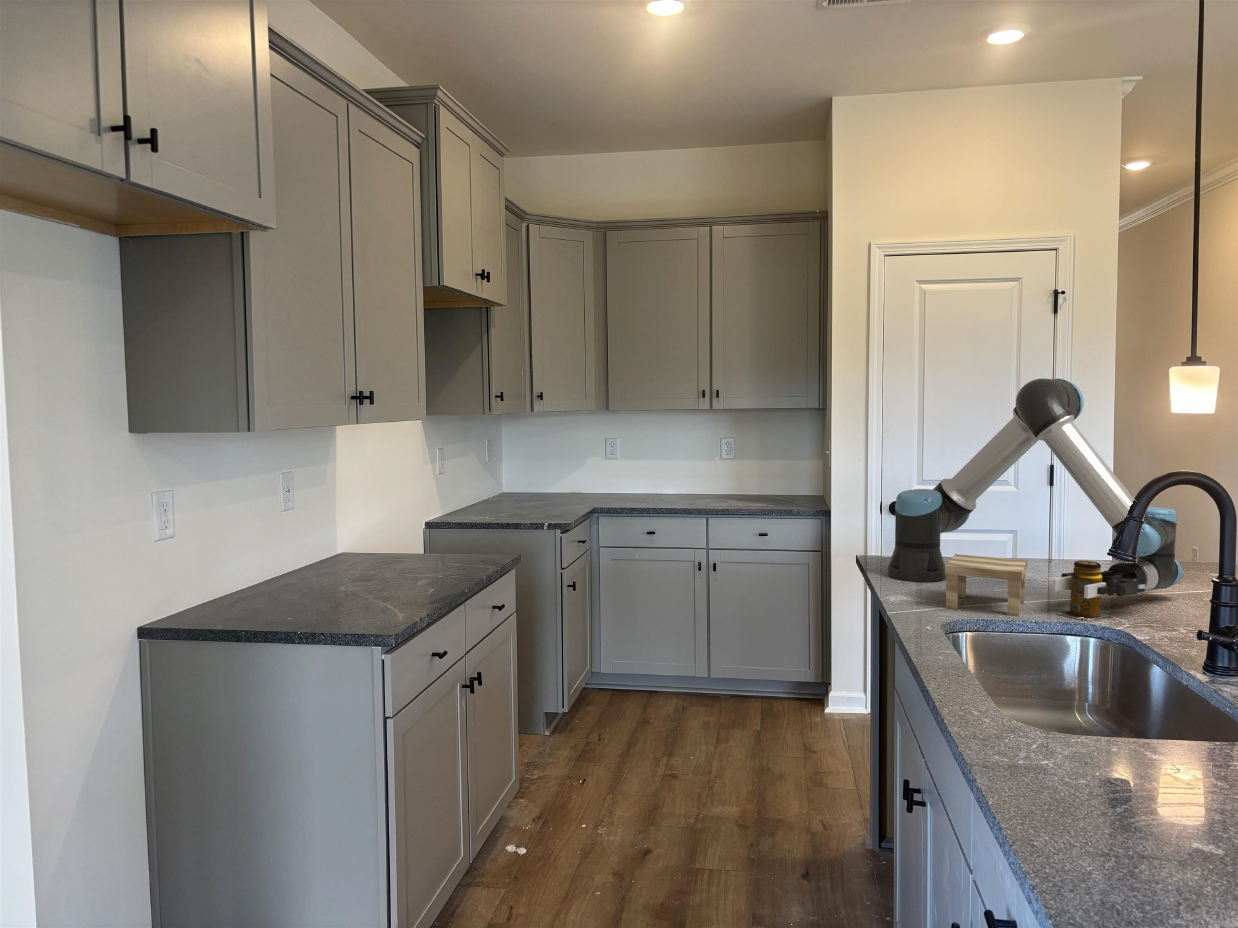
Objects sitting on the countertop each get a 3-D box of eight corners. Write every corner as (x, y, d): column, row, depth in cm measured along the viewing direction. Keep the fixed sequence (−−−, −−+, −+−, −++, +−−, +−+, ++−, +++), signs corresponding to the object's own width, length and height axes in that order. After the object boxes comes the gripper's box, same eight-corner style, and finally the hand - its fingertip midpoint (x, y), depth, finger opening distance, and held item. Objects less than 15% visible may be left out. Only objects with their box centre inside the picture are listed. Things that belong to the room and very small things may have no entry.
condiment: (1109, 616, 185) (1111, 563, 184) (1089, 621, 180) (1091, 567, 179) (1076, 609, 191) (1078, 557, 190) (1056, 614, 186) (1058, 562, 185)
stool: (954, 593, 206) (955, 554, 206) (1025, 601, 198) (1026, 560, 198) (944, 607, 193) (945, 565, 192) (1020, 616, 185) (1021, 572, 184)
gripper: (1175, 602, 185) (1113, 615, 174) (1089, 585, 203) (1028, 596, 192) (1176, 569, 185) (1115, 580, 174) (1090, 554, 202) (1029, 564, 191)
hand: (1069, 588), depth 183 cm, fingers open, 7 cm apart
